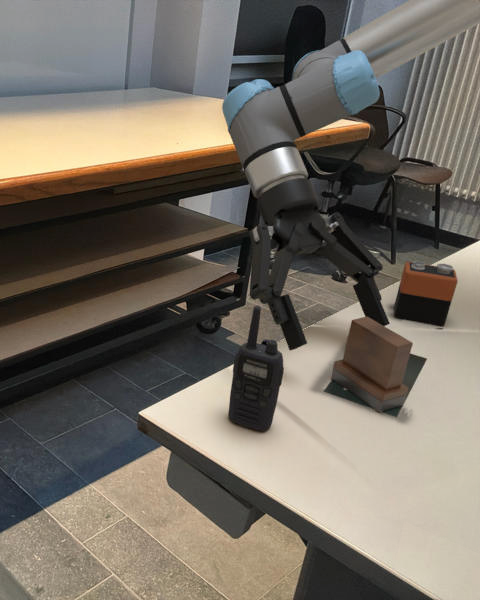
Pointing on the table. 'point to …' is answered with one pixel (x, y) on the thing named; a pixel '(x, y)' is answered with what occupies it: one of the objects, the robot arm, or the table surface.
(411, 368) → the chalkboard
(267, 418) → the two-way radio
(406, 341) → the eraser
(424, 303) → the battery
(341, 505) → the table surface
